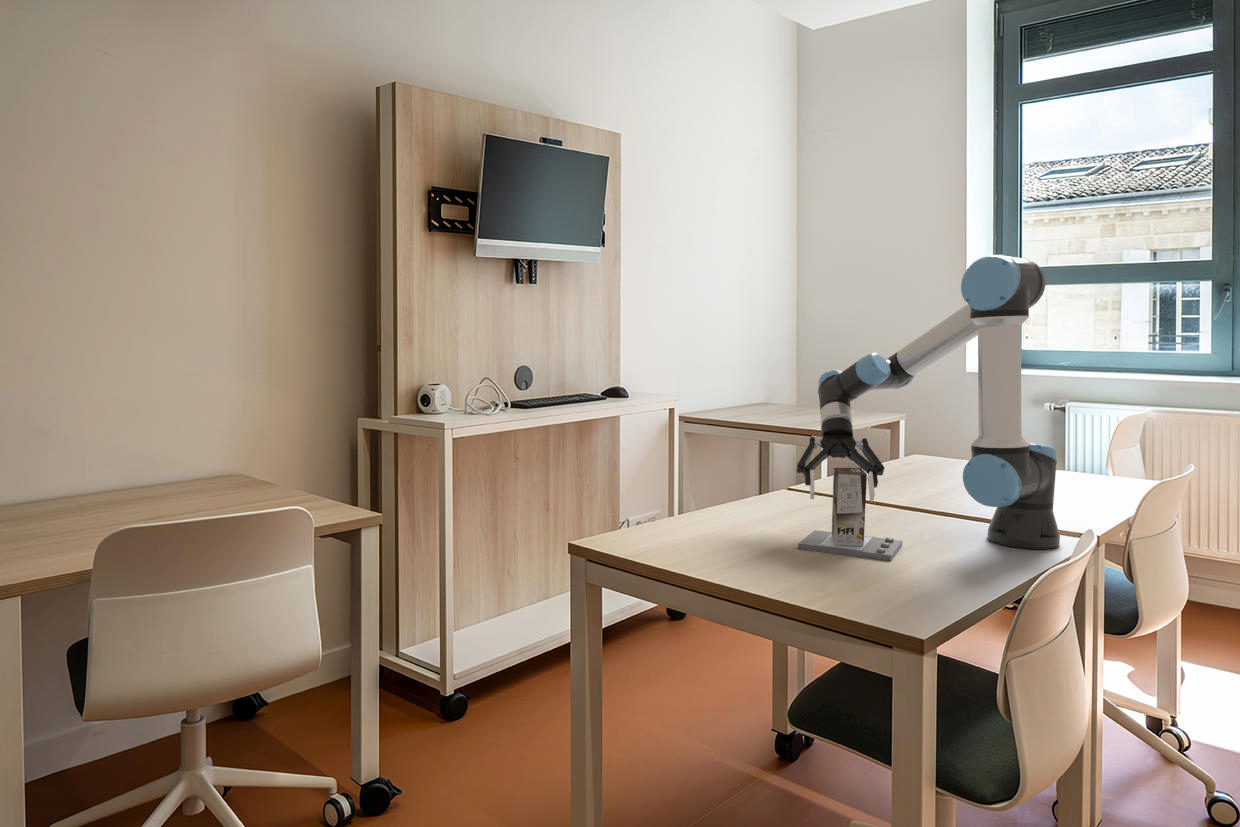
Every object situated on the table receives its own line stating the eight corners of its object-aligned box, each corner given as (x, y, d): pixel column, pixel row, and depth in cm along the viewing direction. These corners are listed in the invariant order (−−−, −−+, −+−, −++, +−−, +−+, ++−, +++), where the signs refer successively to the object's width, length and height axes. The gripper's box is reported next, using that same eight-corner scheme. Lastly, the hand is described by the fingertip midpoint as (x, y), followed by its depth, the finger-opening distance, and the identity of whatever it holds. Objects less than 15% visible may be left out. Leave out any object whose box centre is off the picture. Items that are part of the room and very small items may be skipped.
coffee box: (864, 547, 187) (867, 474, 186) (834, 545, 188) (837, 473, 186) (859, 536, 196) (862, 467, 195) (830, 535, 197) (833, 466, 195)
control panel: (902, 545, 194) (902, 538, 193) (890, 560, 181) (891, 552, 181) (814, 535, 203) (814, 527, 203) (798, 548, 190) (798, 540, 190)
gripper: (885, 435, 214) (894, 507, 201) (784, 432, 217) (786, 503, 204) (890, 416, 208) (900, 489, 195) (786, 414, 211) (789, 486, 198)
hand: (842, 497), depth 199 cm, fingers open, 13 cm apart
